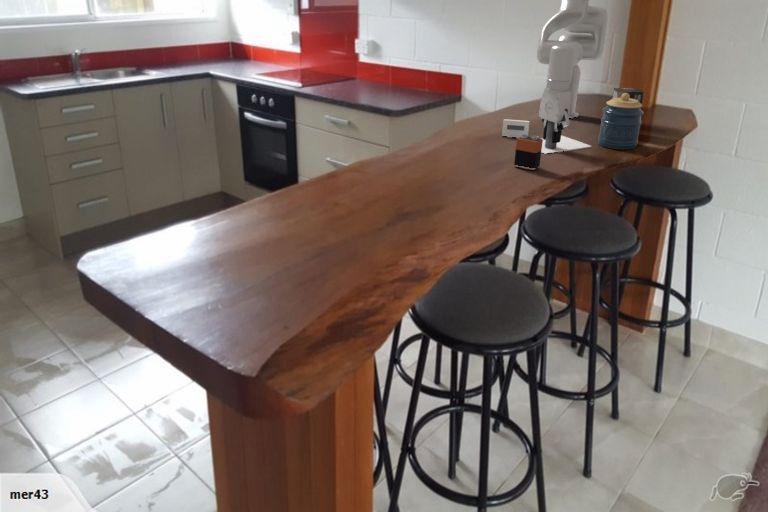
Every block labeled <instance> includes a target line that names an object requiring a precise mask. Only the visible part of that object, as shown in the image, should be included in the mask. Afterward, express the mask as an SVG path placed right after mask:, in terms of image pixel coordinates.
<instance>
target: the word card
mask: <svg viewBox="0 0 768 512" xmlns="http://www.w3.org/2000/svg"><path fill="white" fill-rule="evenodd" d="M529 127H530V120H522V119H521V120H519V119H506V118H505V119H503V121H502V133H501V137H502V136H507V137H506V138H512V137H516V138H515V139H517V138H519V137H521V136H522V135H527V136H528V137H529V131H530V130H529V129H530V128H529Z"/></svg>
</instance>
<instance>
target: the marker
mask: <svg viewBox="0 0 768 512" xmlns="http://www.w3.org/2000/svg"><path fill="white" fill-rule="evenodd" d="M559 125H560V123H558V126H559ZM554 129H555V122H551V121H548V124H547V132H546V140H545V147H546V148H551V149H553V148H556V146H557V143H552V135H553V131H555V130H554Z"/></svg>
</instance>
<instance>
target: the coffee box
mask: <svg viewBox="0 0 768 512" xmlns="http://www.w3.org/2000/svg"><path fill="white" fill-rule="evenodd" d="M624 93H628V94H629V96H630V98H631V99H635V100H638V102H639V103H641V104H642V105H643V98H644V91H643V89H641V88H637V87H614V88H613V93H612V98H611V99H613V98H621V96H622V94H624ZM640 109H641V110H642V107H640Z"/></svg>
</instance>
